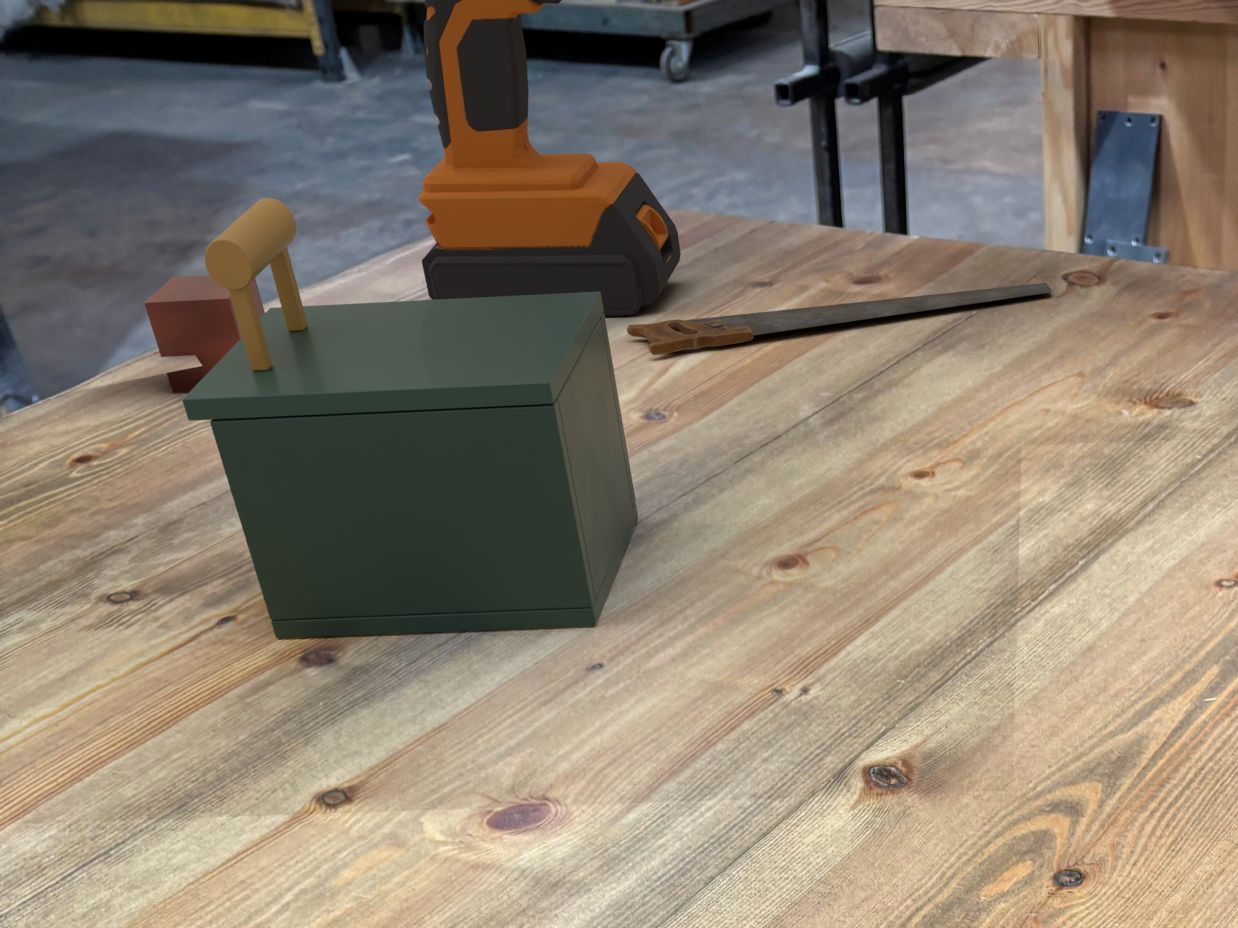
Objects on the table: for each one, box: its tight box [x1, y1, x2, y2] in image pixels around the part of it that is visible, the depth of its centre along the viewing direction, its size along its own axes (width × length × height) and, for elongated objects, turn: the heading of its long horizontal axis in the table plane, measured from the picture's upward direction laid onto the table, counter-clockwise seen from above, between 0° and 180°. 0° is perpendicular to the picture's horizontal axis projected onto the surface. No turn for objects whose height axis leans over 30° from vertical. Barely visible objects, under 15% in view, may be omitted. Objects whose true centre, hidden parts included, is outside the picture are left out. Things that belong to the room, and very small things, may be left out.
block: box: [144, 274, 266, 394], centre depth 106 cm, size 5×5×5 cm
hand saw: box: [626, 282, 1053, 356], centre depth 110 cm, size 24×5×1 cm, turn 108°
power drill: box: [418, 0, 682, 317], centre depth 106 cm, size 22×7×25 cm, turn 85°
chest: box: [209, 313, 639, 639], centre depth 82 cm, size 14×12×9 cm
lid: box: [181, 197, 604, 421], centre depth 77 cm, size 14×12×6 cm
